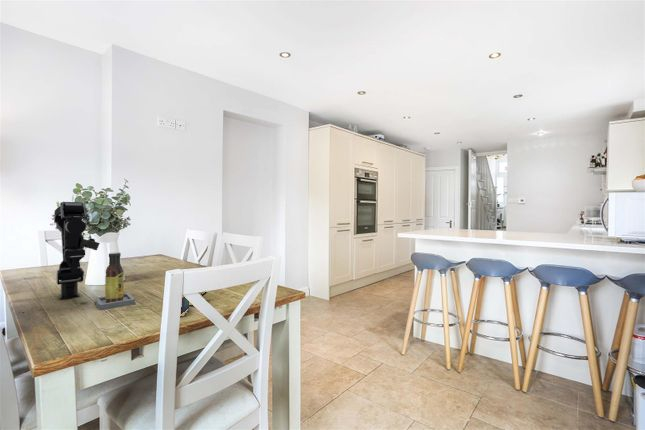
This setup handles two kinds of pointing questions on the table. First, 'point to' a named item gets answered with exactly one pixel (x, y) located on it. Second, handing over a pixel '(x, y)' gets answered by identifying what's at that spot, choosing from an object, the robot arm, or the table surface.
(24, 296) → the table surface
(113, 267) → the sauce bottle
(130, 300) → the keeper tray
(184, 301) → the flask
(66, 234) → the robot arm
